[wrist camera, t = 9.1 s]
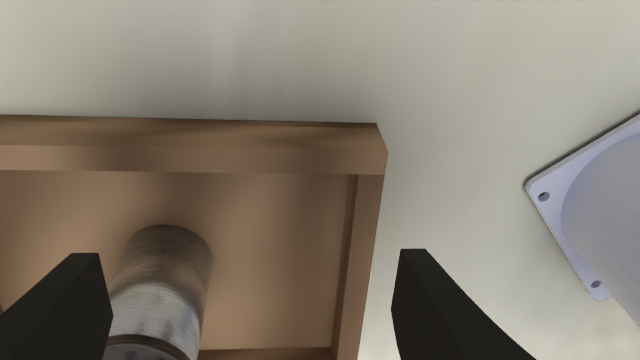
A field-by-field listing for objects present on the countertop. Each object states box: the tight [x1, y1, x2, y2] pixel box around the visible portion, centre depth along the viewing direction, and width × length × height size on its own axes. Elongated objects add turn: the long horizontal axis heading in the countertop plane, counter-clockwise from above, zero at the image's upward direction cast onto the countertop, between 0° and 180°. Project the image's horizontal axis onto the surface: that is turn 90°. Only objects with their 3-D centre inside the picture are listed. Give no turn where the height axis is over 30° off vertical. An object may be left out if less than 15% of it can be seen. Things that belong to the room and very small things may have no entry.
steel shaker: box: [102, 224, 213, 360], centre depth 20 cm, size 4×4×7 cm
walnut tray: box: [0, 115, 388, 360], centre depth 22 cm, size 18×14×2 cm
